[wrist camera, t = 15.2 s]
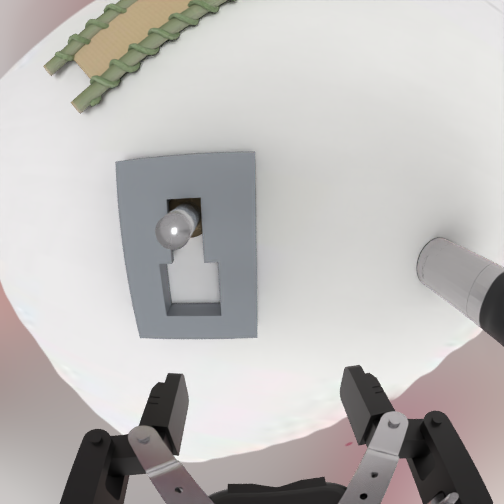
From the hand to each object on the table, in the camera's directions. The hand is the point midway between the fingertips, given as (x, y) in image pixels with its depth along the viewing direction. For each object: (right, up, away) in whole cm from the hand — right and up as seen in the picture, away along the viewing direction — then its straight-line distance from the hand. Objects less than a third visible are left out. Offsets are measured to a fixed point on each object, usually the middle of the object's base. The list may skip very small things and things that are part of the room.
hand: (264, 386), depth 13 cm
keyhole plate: (-9, +7, +28) cm, 30 cm away
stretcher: (-13, +44, +17) cm, 49 cm away
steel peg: (-9, +12, +26) cm, 30 cm away
